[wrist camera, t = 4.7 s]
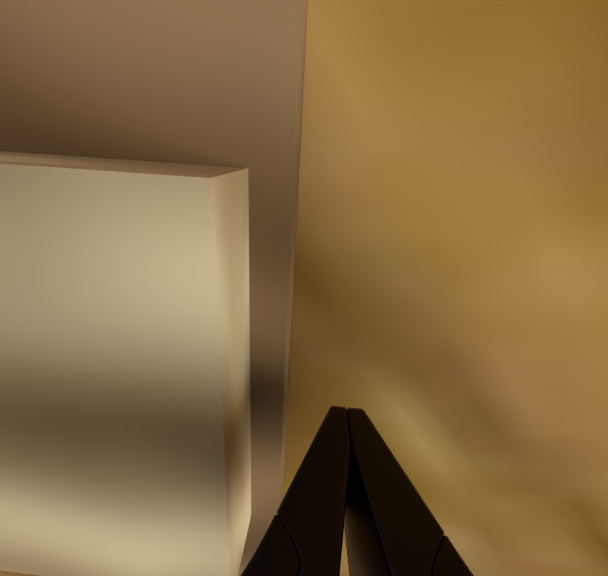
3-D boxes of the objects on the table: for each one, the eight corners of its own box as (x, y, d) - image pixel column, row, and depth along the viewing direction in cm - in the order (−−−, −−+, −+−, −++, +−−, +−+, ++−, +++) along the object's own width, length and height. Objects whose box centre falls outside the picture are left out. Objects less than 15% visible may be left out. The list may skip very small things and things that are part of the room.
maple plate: (251, 514, 12) (231, 601, 10) (42, 490, 12) (-23, 567, 10) (248, 168, 7) (210, 178, 5) (-91, 144, 8) (-269, 144, 5)
